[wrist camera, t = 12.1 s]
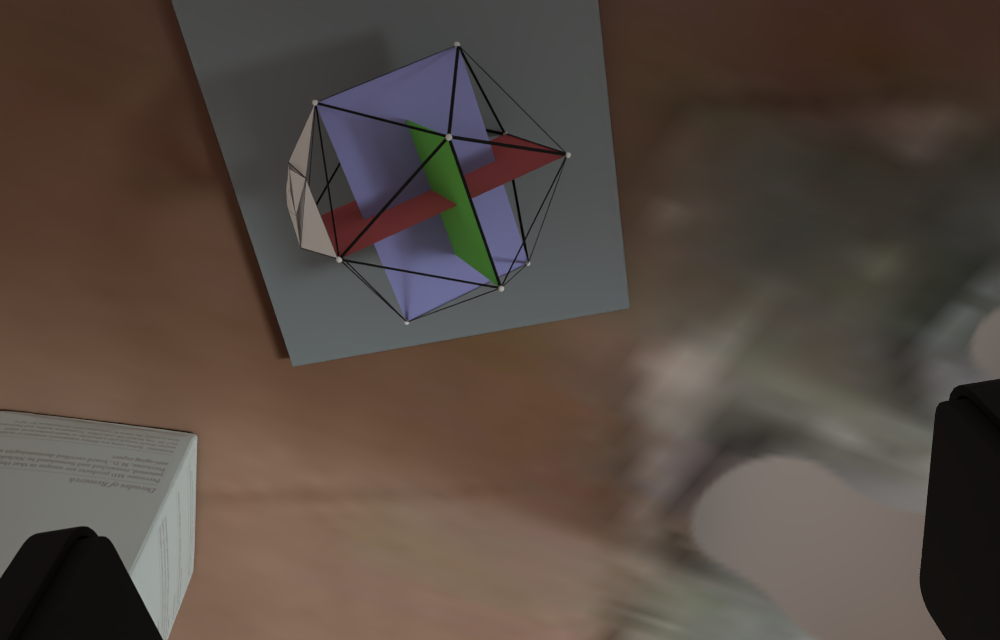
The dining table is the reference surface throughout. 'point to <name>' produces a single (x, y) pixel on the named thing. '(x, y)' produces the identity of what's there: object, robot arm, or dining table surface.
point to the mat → (264, 172)
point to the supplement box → (104, 496)
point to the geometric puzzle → (419, 183)
